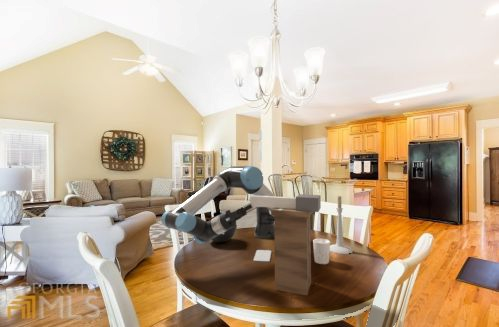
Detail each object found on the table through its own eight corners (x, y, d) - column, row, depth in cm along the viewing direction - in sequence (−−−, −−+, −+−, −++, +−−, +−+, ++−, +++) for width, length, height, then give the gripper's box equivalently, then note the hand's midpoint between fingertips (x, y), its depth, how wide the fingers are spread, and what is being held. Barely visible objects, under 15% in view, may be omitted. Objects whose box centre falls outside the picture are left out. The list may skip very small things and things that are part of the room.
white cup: (318, 257, 124) (318, 237, 124) (333, 261, 118) (332, 240, 118) (310, 261, 118) (309, 240, 119) (325, 266, 113) (324, 244, 113)
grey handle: (255, 203, 105) (255, 192, 105) (320, 208, 95) (320, 195, 95) (247, 207, 97) (247, 194, 97) (318, 212, 87) (318, 198, 87)
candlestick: (323, 249, 135) (322, 195, 135) (335, 244, 143) (334, 193, 143) (345, 256, 125) (344, 197, 125) (357, 250, 133) (356, 195, 134)
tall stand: (279, 276, 102) (279, 204, 103) (313, 282, 97) (313, 206, 98) (271, 290, 91) (270, 209, 92) (309, 297, 86) (309, 211, 87)
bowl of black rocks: (207, 248, 138) (206, 215, 138) (202, 238, 157) (201, 209, 157) (240, 244, 145) (240, 212, 145) (232, 235, 164) (232, 207, 164)
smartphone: (252, 260, 119) (256, 249, 134) (252, 262, 119) (256, 251, 134) (269, 261, 118) (271, 250, 133) (269, 263, 118) (271, 252, 133)
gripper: (239, 223, 116) (277, 203, 110) (213, 238, 93) (258, 213, 86) (232, 209, 118) (269, 188, 111) (204, 220, 94) (248, 194, 88)
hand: (264, 199), depth 99 cm, fingers open, 13 cm apart
